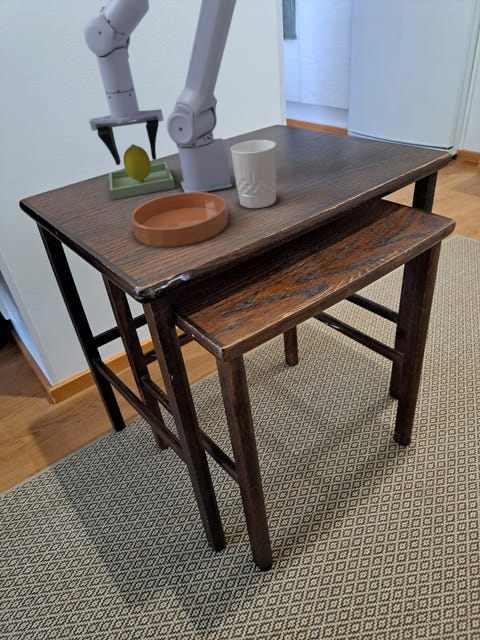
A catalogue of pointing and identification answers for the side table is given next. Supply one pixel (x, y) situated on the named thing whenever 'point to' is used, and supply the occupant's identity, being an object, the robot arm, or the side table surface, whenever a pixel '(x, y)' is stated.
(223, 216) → the pan
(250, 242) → the side table surface
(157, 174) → the tray
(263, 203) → the white cup
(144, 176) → the lemon
